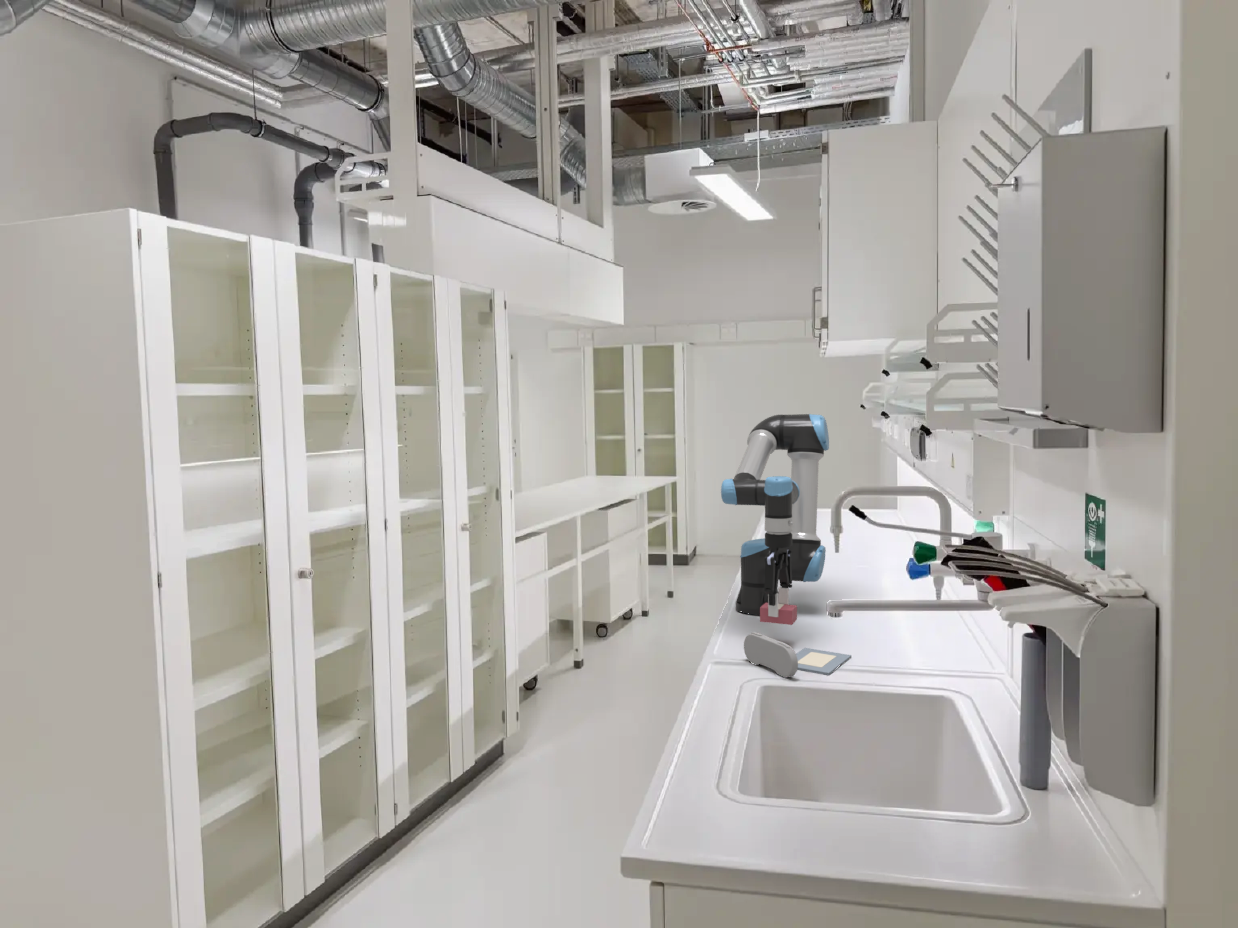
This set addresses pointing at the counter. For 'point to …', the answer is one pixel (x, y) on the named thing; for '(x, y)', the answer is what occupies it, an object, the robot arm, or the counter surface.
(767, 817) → the counter surface
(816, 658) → the grey flat board
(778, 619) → the card deck box
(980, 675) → the counter surface
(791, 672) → the game controller
